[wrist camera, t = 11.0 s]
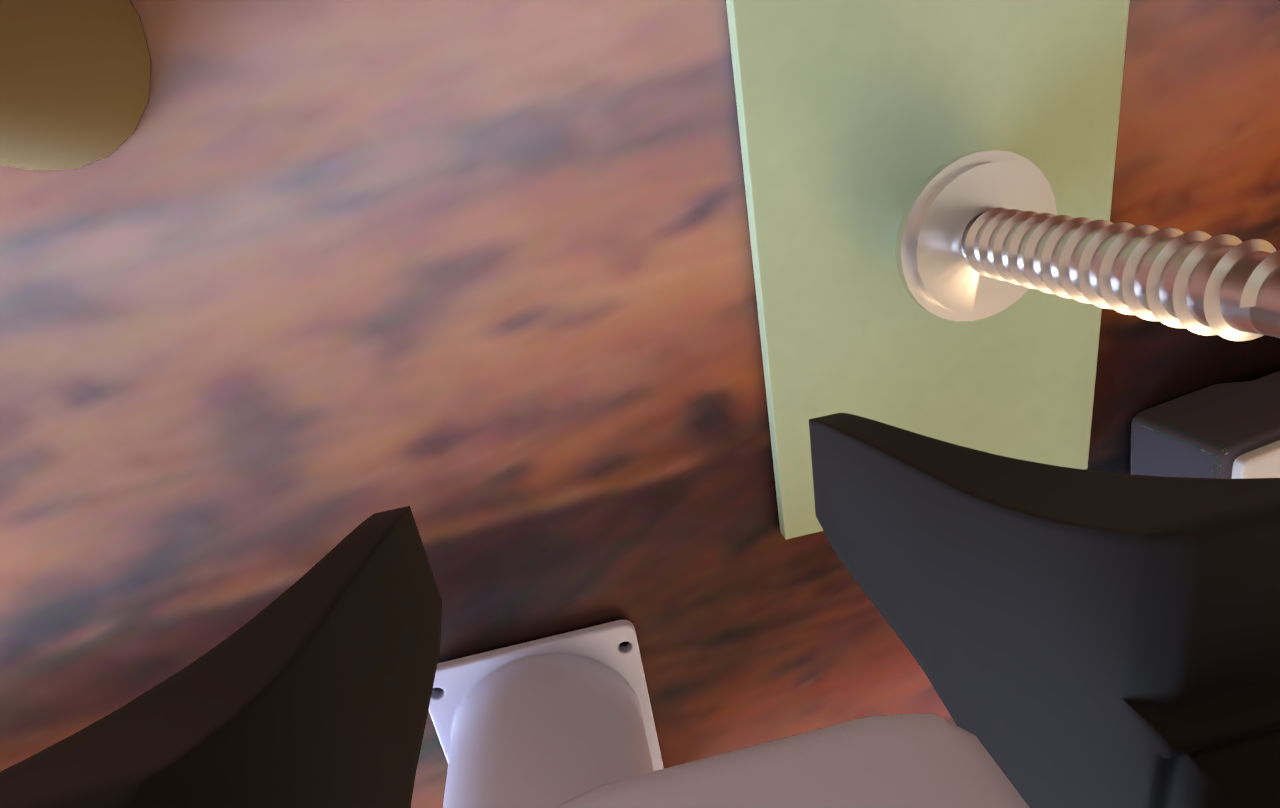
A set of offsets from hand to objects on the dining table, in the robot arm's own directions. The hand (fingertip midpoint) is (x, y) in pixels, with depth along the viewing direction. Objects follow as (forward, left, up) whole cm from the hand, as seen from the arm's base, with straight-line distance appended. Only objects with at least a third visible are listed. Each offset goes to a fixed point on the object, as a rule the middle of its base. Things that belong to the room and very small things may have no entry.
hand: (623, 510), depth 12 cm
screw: (+2, -12, -10) cm, 16 cm away
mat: (+2, -12, -10) cm, 16 cm away
